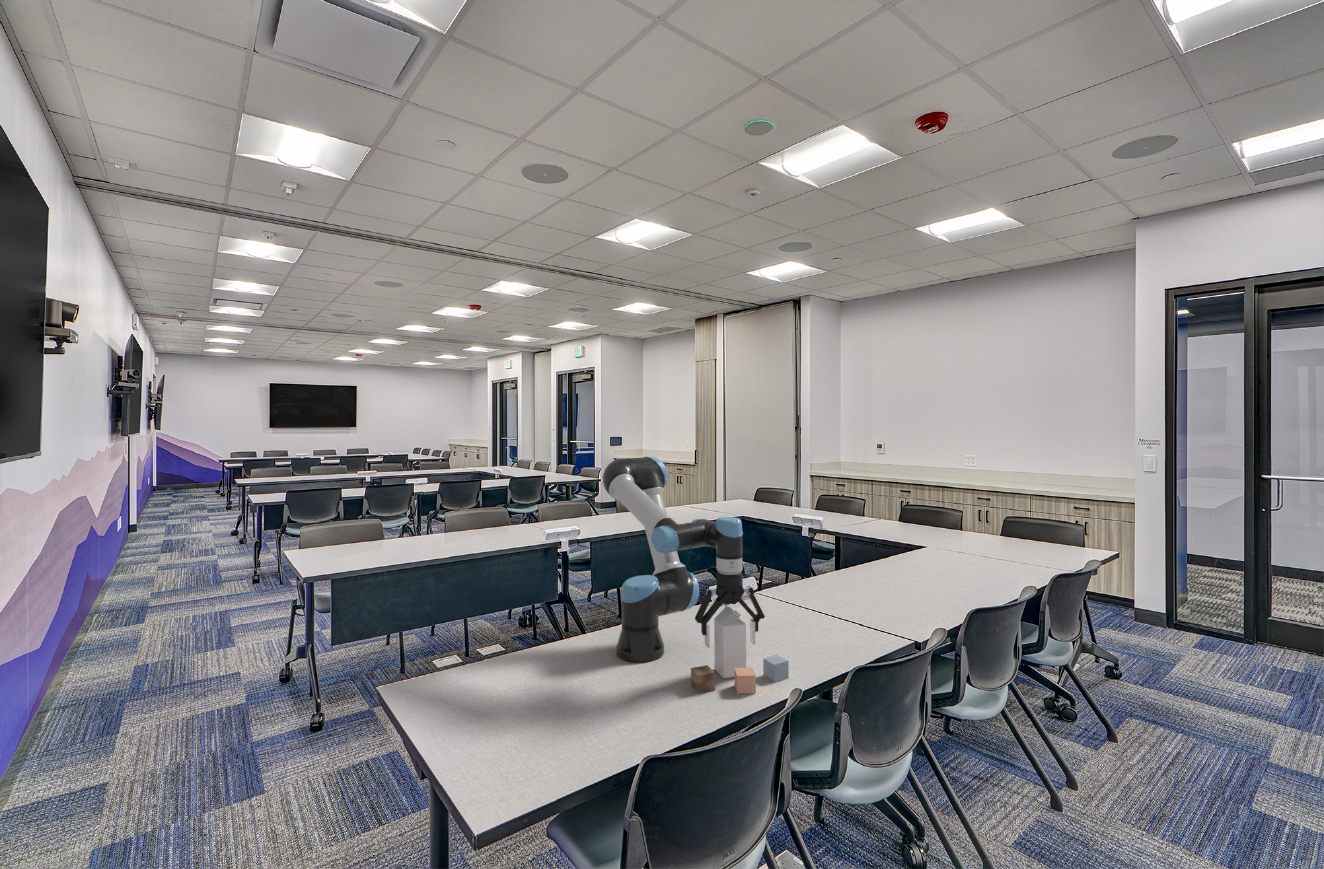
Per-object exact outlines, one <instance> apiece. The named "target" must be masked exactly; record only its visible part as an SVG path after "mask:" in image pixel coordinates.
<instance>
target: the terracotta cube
mask: <svg viewBox="0 0 1324 869" xmlns="http://www.w3.org/2000/svg"><path fill="white" fill-rule="evenodd" d="M755 673H756V672H755V670H754V668H753V667H746V668H734V677H733V680H734V684H733V686H734V688H735V691H737V692H736V694H737V695H739V694H738V693H756V694H757V690H756V689H757V687H756V686H757V681H756V679H757V675H756V674H755Z"/></svg>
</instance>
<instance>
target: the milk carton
mask: <svg viewBox="0 0 1324 869" xmlns="http://www.w3.org/2000/svg"><path fill="white" fill-rule="evenodd" d="M741 616H742V614H741V613H740V612H739V611H737V610H734V609H733V608H732V607H730V606H729V604H728V605H725V604H724V608H723V609H722V610H721V611H720V612H719V613H718V614H717V615H716V616H715V617H714V618H713V620H714V622H713V623H714V628H713V630H714V637H713V638H714V642H713V643H714V670H715V671H716V672H717V673H718V674H719V676H720V677H721V678H722V679H730V678H734V668H747V624H746V623H745V622H744V621H743V620H742V619H741V618H740V617H741Z"/></svg>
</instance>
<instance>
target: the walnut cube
mask: <svg viewBox="0 0 1324 869" xmlns="http://www.w3.org/2000/svg"><path fill="white" fill-rule="evenodd" d="M690 686H691V687H692V688H693V690H694V691H695V692H696V693H697V694H704V693H709V692H713V691H716V672H715V671H714V670H713V669H712V668H711V667H710V666H709V664H708V665H707V664H706V665H701V666H700V665H699V666H695V667H691V668H690Z"/></svg>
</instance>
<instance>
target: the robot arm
mask: <svg viewBox="0 0 1324 869" xmlns="http://www.w3.org/2000/svg"><path fill="white" fill-rule="evenodd" d="M602 474H603V475H602V485H603V488H604V490H605V491H606V493H607V494H608V495H609V496H610V497H611V498H612V499H614V500H617V501H619V502H620V503H621V504H622V506H624V507H625V508H626V509H627V510H628V511H629V512H630V513H631V514H632V515H633V516H634V518H636V520H637V521H639V523H640V524H641V525H642V526H643V527H644V531H645V534H646V538H647V543H648V545H649V550H650V554H651V557H652V560H653V561H652V562H653V565H654V568H655V569H654V571H653V573H652V575H651V574H644V575H642V574H641V575H635V576H633V577H629V578H628V579H626V580H625V581H624V582H623V584H622V585H621V593H620V600H621V602H620V603H621V608H620V609H621V629H620V633H619V638H618V640H617V644H616V656H617V657H618V658H619V659H620V660H623V661H627V662H632V663H646V662H647V663H648V662H651V661H655V660H659V659H660V658H662V657H663V656H664V654H665V644H664V640H663V637H662V635H661V631H660V628H659V617H662V616H663V617H664V616H667V615H670V614H675V613H679V612H684V611H686V610H688V609H689V610H690V609H691V608H693V607H695V606H696V604H697V602H698V599H699V595H700V586H699V581H698V579H697V577H696V576H695V574H693V573H692V572H690V571H688V570H687V566H686V565H685V564H684V563H682V562H681V561H680V558H679V555H678V554H679V553H678V552H679V551H685V550H688V549H689V550H691V549H696V548H702V547H710V548H713V549H716V551H715V552H716V553H715V554H716V556H715V557H716V559H715V560H716V571H717V572H716V587H715V589H710V587H709V588H708V587H707V588H705V593H704V594H705V595H704V597H703V600H702V602H701V604H700V606H699V609H698V610H697V613H696V614H695V617H694V620H695V622H696V623H697V624H700V626H701V630H700V631H701V634H702V636H704V645H705V647H706V649H709V648H711V647H710V646H711V645H710V643H711V642H710V641H711V640H710V639H711V638H710V635H711V634H710V623H709V622H710V621H711V619H712V618H713V616H714V615H715V614H716V612H717V611H718V610H719V609H720V608H721V607H722V606H723V605H724V606H725V605H728V606H729V605H736V604H737V603H739V604H740V605H741V606H742V607H743V609H744V610H745V611H746V612H747V614H749V615H750V617H751V618H749V642H750V643H751V644H752V645H756V633H757V632H759V623H760V620H762V619H763V620H764V619H765V617H766V616H765V614H764V612H763V610H762V608H761V606H760V603H759V602H758V600H757V598H756V596H755V590H754V587H752V586H751V585H748V586H747V587H743V586H744V585H743V581H744V580H743V579H744V578H743V577H744V576H743V574H744V573H743V572H742V571H743V535H744V532H743V525H742V520H741V519H740V518H739V517H733V516H724V517H723V516H721V517H718V518H717V519H716V520H715V521H712V520H709V519H706V518H701V519H700V518H695V519H693V520H692V521H691V522H685V523H677V522H676V521H675V520H674V519H673V518H672V517H670V515H668V512H667V509H666V506H665V502H664V499H663V494H664V492H665V487H666V486H667V483H668V470H667V467H666V466H665V464H664V463H663V462H662V460H660V459H659V458H658V457H653V456H643V457H626V458H625V457H623V458H617V459H613V461H611V462H609V464H608V465H606V467H605V469H604V471H603V473H602ZM744 594H746V595H747V596H748V598H749V600H750V602H751V603H752V605H753V608H754V609H755V611H756V613H757V614H756V613H755V612H754V611H753V610H752V609H751V607H749V605H748V604H747V603H746V602H745V601H744V600H743V598H742V596H743V595H744ZM714 595H716V596H717V597H716V598H715V600H714V602H713V603H712V605H711V606H710V607H709V605H710V602H711V601H712V598H713V597H714ZM708 607H709V609H708ZM707 609H708V610H707Z"/></svg>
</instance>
